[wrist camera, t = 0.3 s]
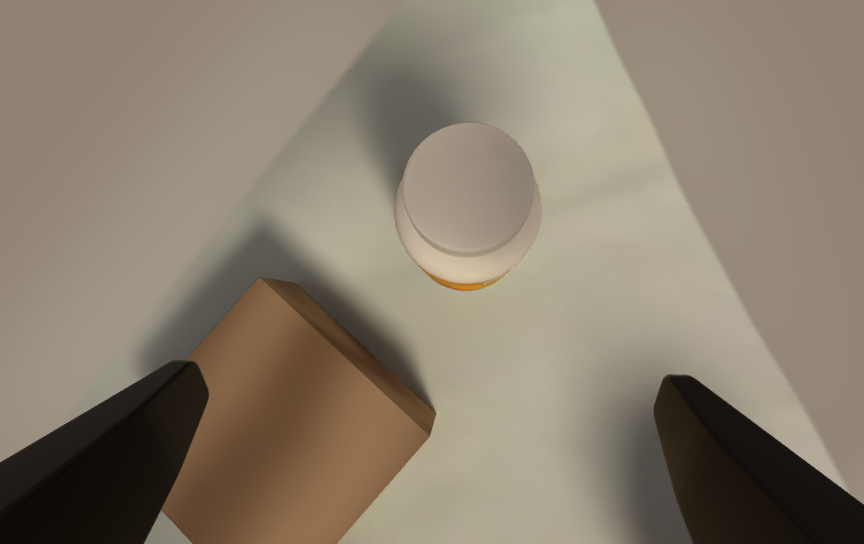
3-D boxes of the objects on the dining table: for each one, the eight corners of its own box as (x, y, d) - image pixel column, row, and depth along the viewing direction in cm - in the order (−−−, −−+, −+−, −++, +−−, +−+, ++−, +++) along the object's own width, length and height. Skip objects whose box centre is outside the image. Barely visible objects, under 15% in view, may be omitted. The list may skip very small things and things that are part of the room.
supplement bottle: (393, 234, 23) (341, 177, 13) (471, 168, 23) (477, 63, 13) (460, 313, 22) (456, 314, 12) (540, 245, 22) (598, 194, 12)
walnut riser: (436, 413, 22) (429, 436, 18) (303, 565, 21) (267, 623, 18) (294, 283, 23) (259, 277, 19) (168, 426, 23) (105, 450, 19)
